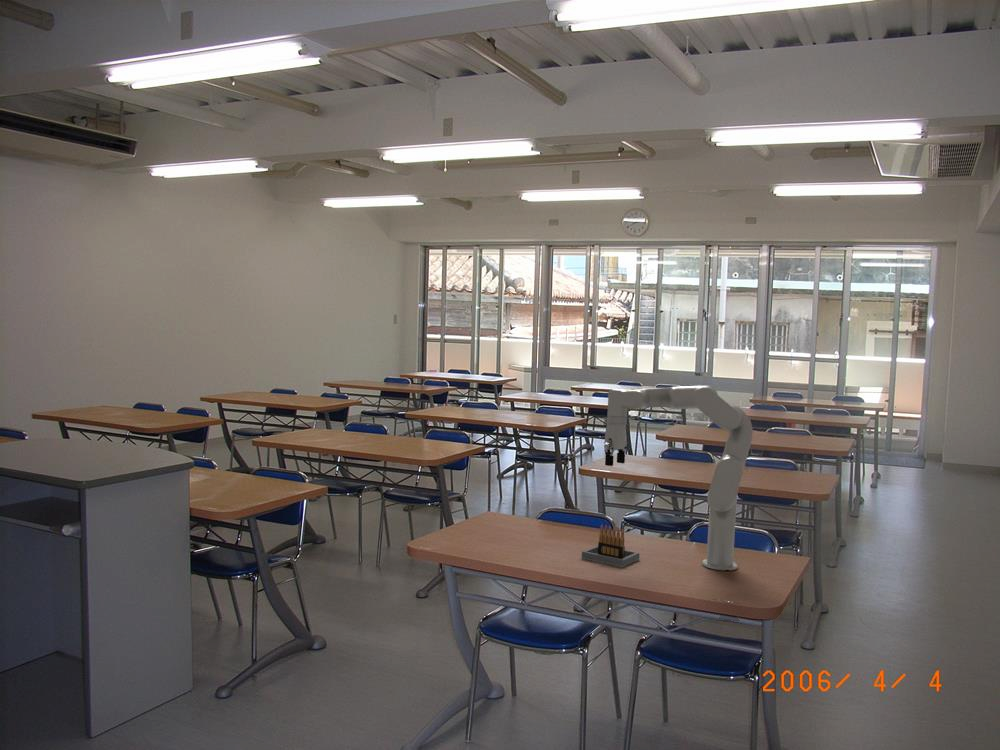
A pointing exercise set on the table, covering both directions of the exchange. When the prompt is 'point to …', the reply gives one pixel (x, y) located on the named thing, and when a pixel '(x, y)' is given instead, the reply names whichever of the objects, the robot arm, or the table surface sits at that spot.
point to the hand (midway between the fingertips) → (614, 464)
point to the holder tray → (592, 555)
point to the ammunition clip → (611, 543)
